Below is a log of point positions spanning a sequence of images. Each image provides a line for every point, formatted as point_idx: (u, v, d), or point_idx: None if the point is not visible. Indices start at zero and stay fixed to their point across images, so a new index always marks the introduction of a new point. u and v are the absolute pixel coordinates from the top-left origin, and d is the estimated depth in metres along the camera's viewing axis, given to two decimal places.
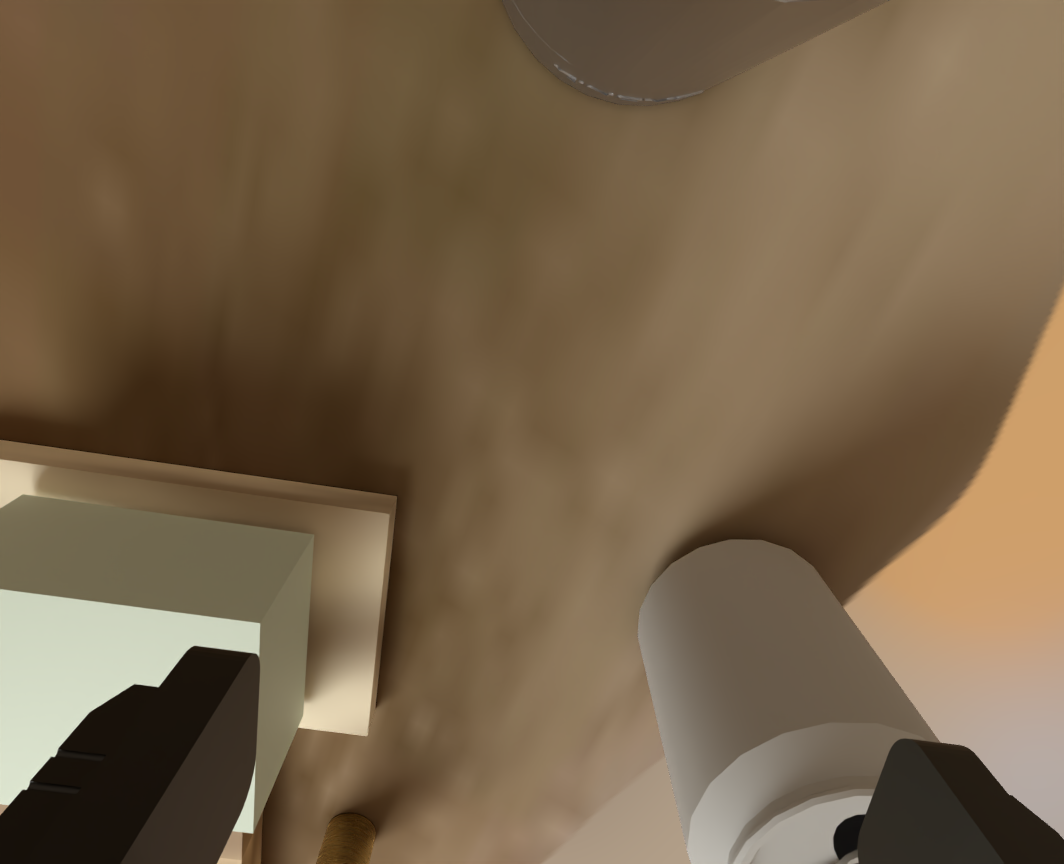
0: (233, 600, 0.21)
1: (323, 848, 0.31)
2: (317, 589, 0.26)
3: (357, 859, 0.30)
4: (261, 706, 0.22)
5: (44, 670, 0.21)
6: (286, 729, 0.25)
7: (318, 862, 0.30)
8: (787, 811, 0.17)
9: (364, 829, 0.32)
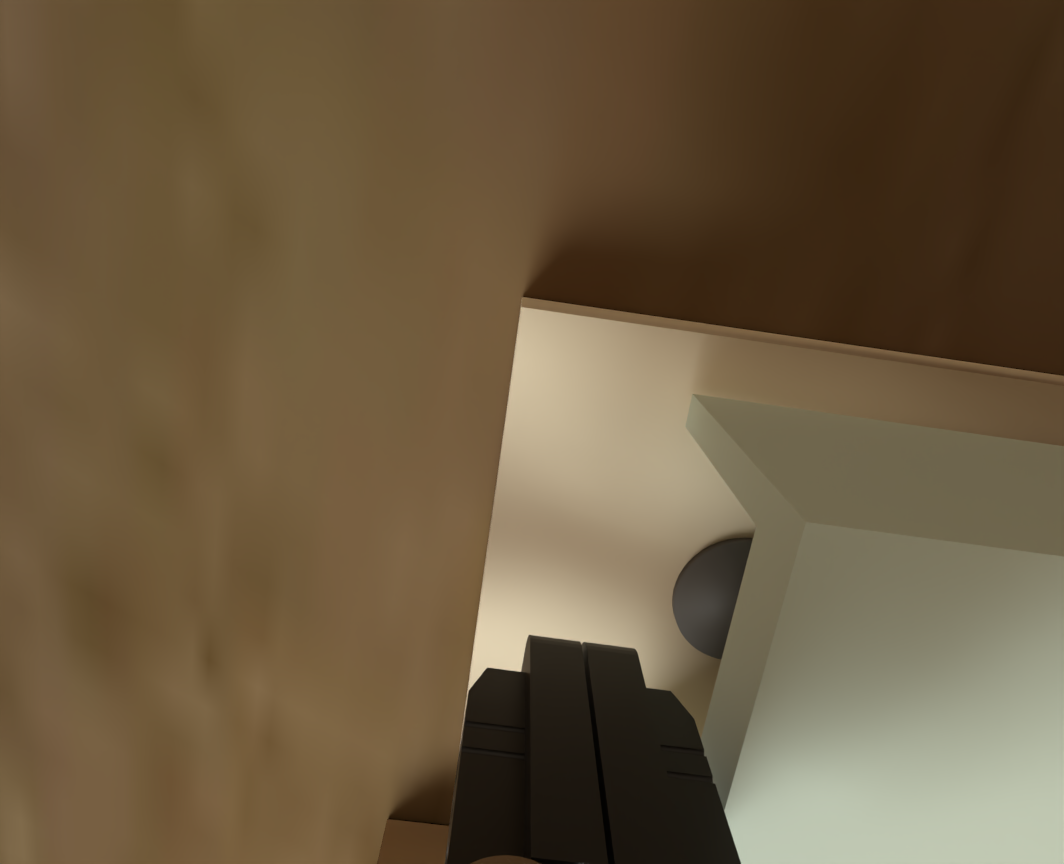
0: None
1: None
2: None
3: None
4: None
5: None
6: None
7: None
8: None
9: None
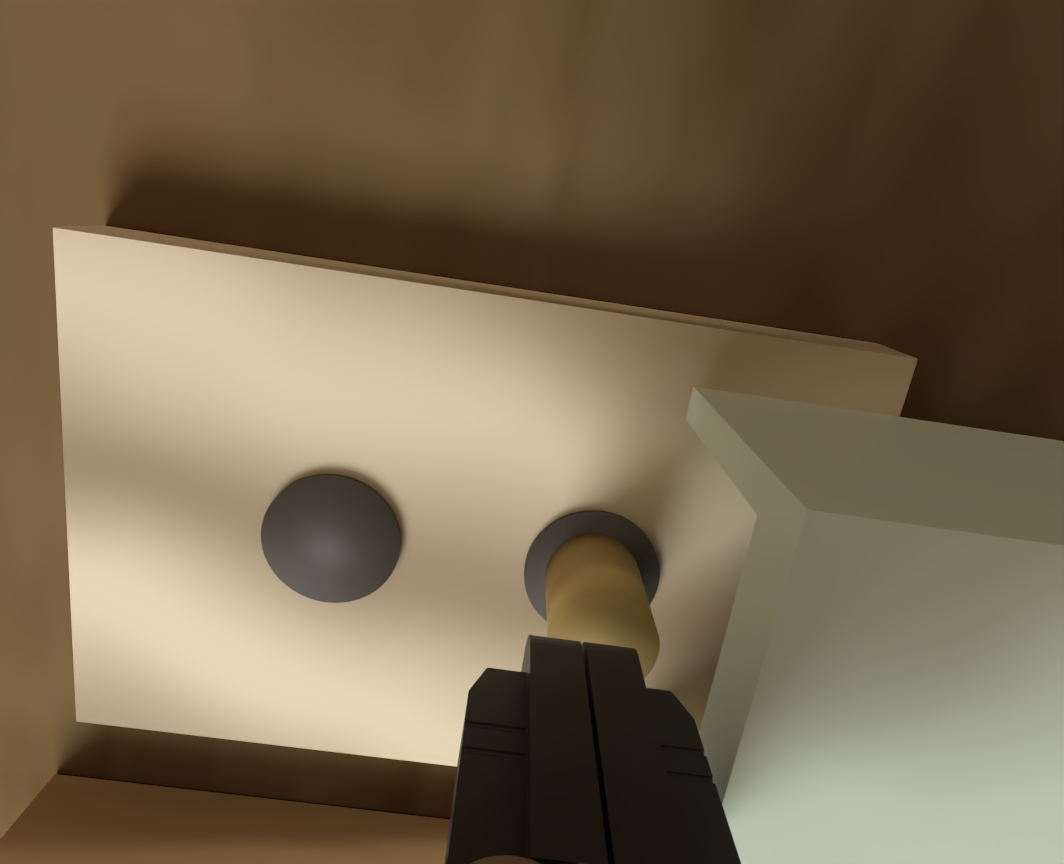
0: None
1: None
2: (741, 520, 0.14)
3: None
4: None
5: None
6: None
7: None
8: None
9: None
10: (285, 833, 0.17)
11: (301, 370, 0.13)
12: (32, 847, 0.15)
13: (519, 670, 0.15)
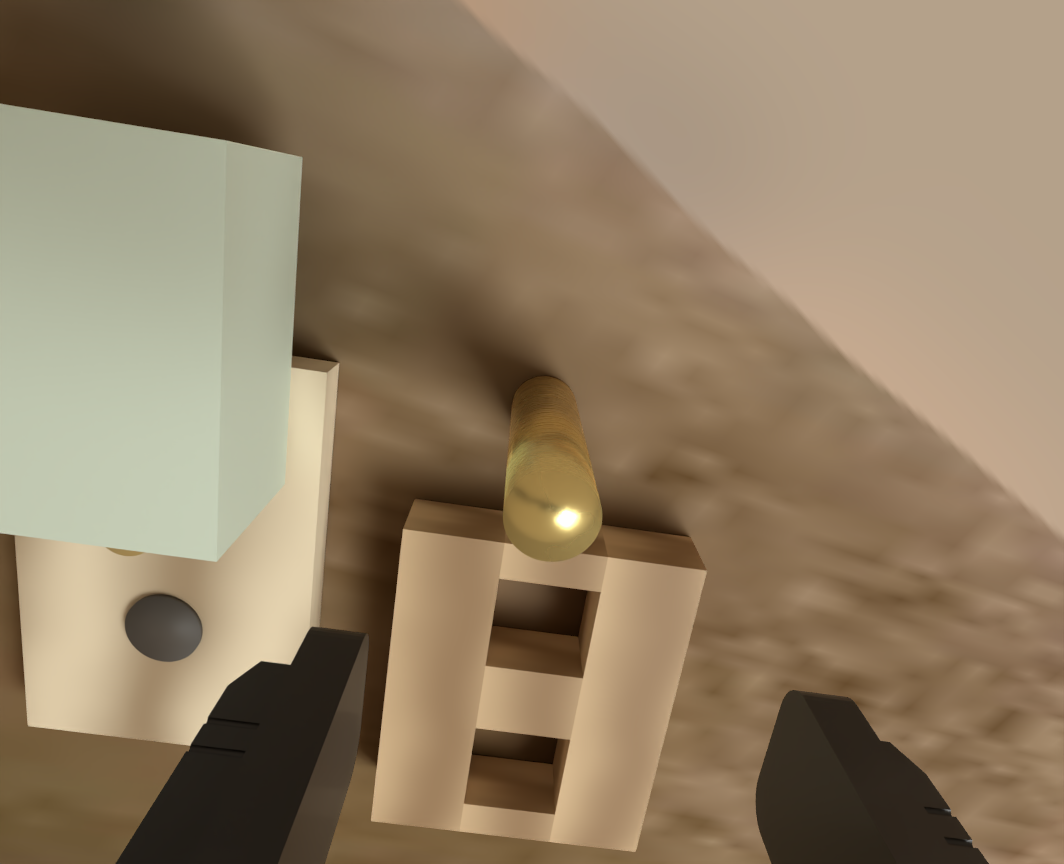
0: None
1: None
2: None
3: (520, 400, 0.22)
4: None
5: None
6: None
7: None
8: None
9: (521, 389, 0.24)
10: None
11: (73, 633, 0.25)
12: None
13: None
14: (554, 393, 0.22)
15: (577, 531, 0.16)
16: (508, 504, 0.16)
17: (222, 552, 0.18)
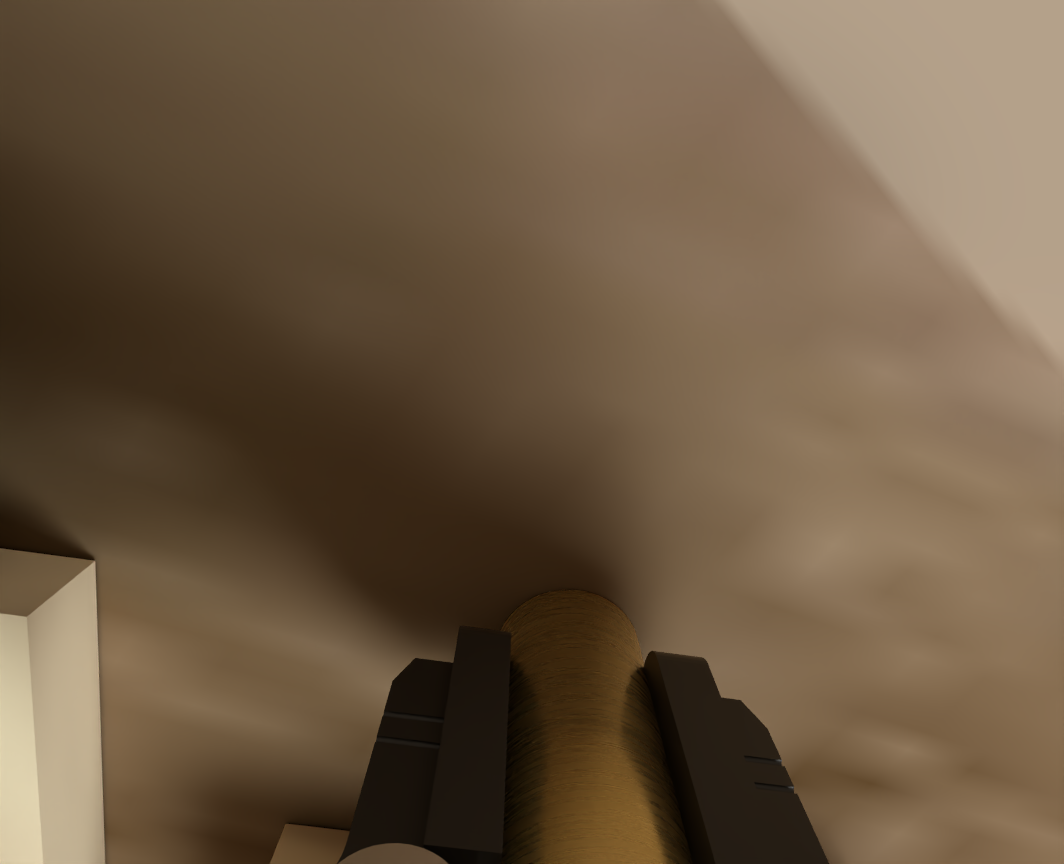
0: None
1: None
2: None
3: (515, 694, 0.09)
4: None
5: None
6: None
7: None
8: None
9: (516, 630, 0.10)
10: None
11: None
12: None
13: None
14: (600, 687, 0.09)
15: None
16: None
17: None
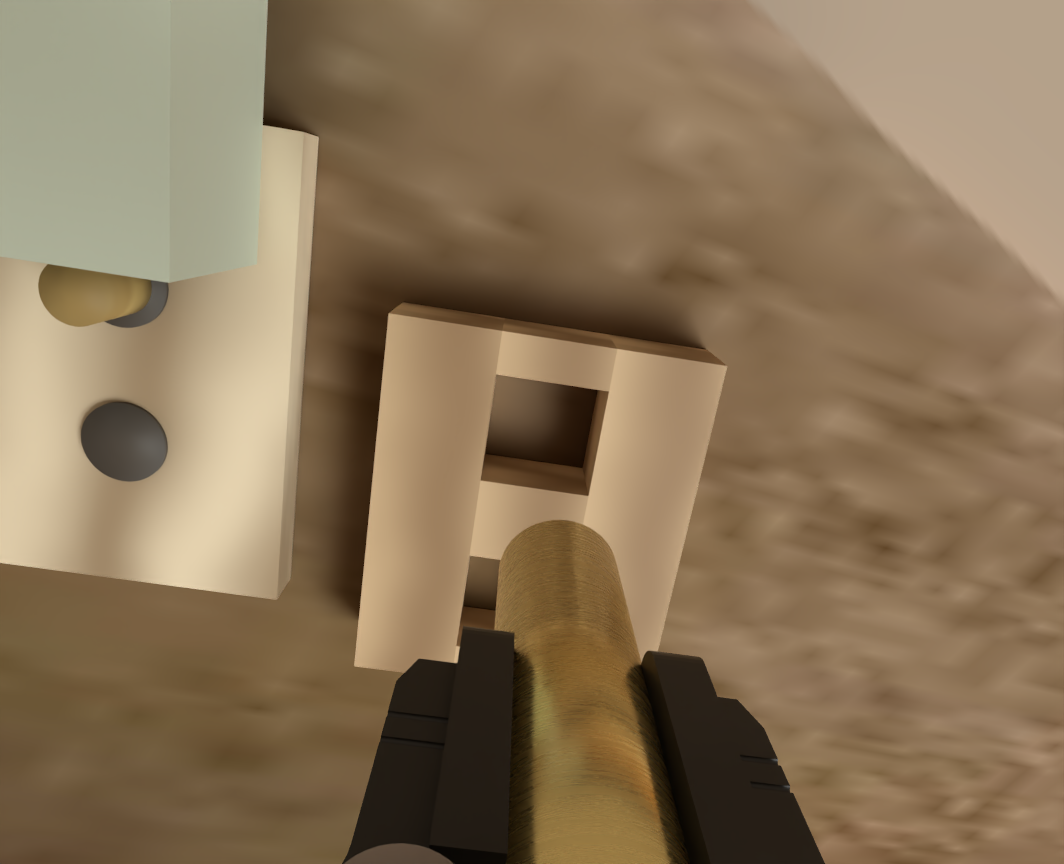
0: None
1: None
2: None
3: (513, 592, 0.11)
4: None
5: None
6: None
7: None
8: None
9: (515, 550, 0.12)
10: None
11: (25, 448, 0.23)
12: None
13: (205, 330, 0.22)
14: (582, 583, 0.11)
15: None
16: None
17: (176, 277, 0.16)
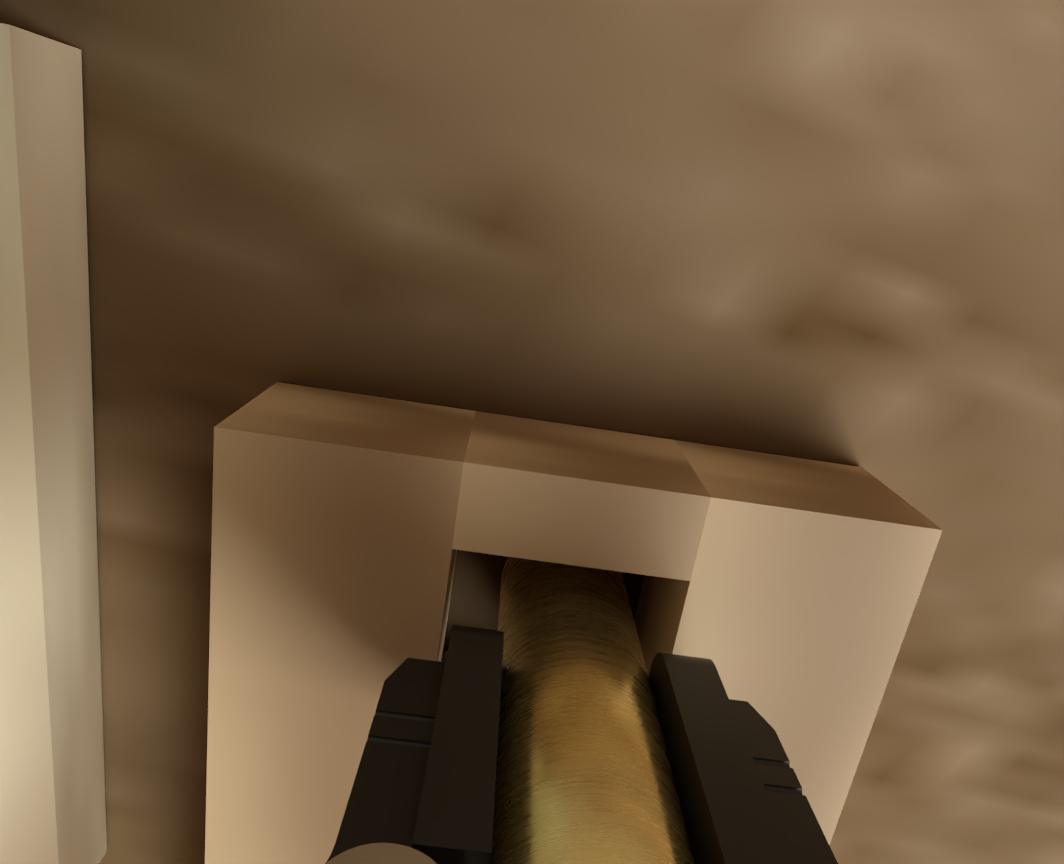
0: None
1: None
2: None
3: (517, 602, 0.11)
4: None
5: None
6: None
7: None
8: None
9: (518, 559, 0.12)
10: None
11: None
12: None
13: None
14: (588, 594, 0.10)
15: None
16: None
17: None
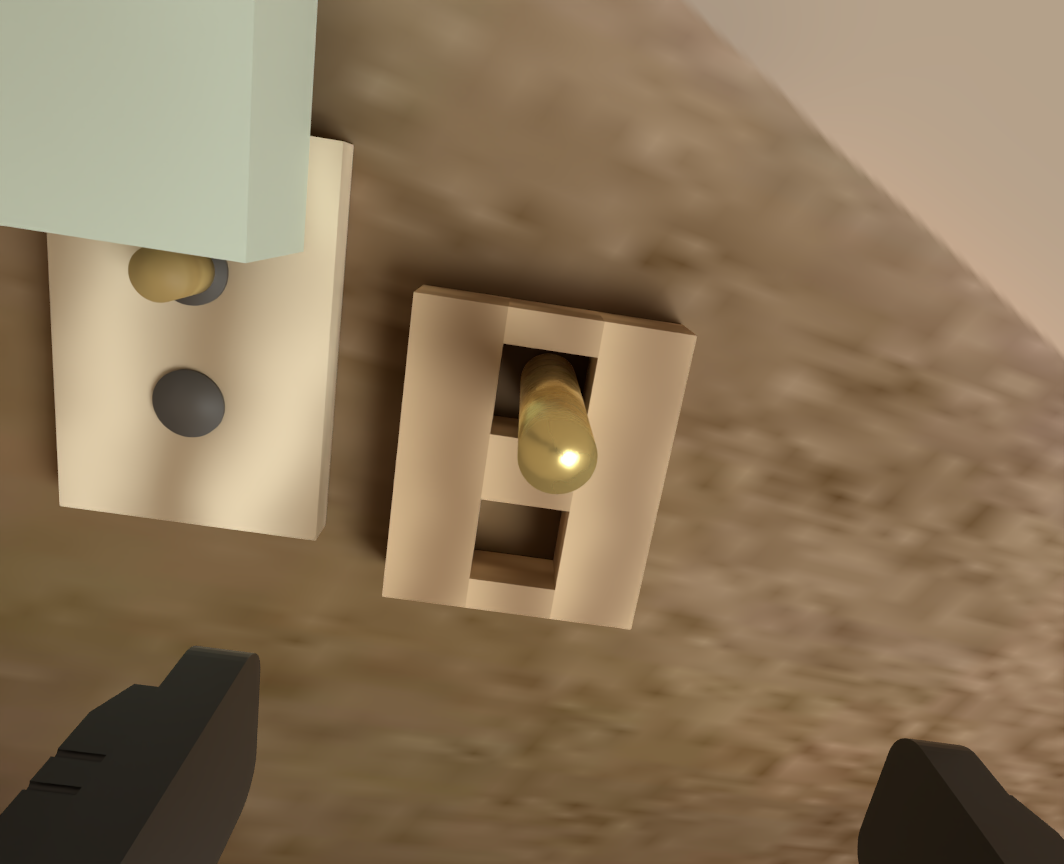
0: None
1: None
2: None
3: (529, 372, 0.26)
4: None
5: (38, 77, 0.18)
6: None
7: None
8: None
9: (529, 364, 0.27)
10: None
11: (104, 409, 0.27)
12: None
13: (259, 308, 0.26)
14: (558, 366, 0.26)
15: (577, 469, 0.20)
16: (522, 446, 0.19)
17: (250, 258, 0.20)
